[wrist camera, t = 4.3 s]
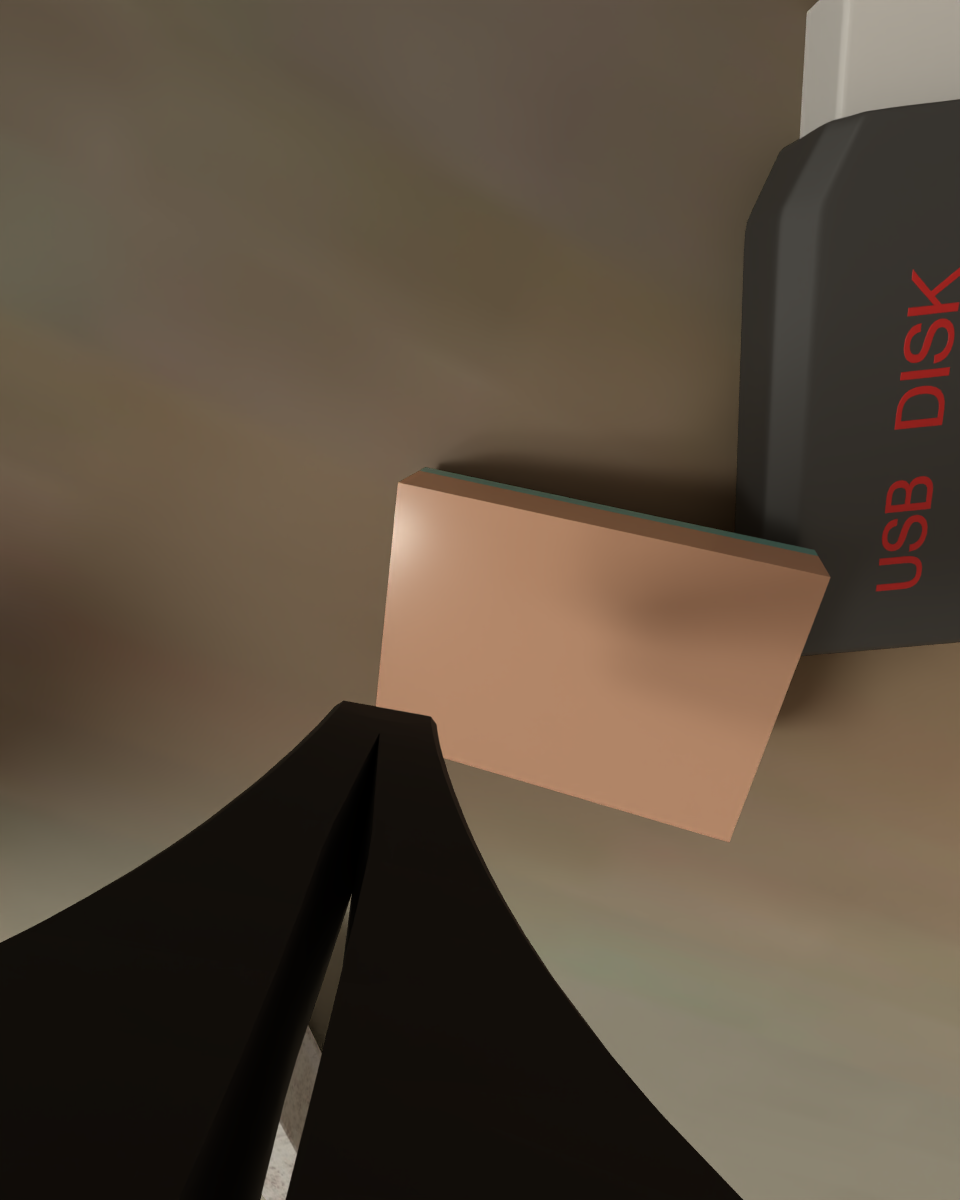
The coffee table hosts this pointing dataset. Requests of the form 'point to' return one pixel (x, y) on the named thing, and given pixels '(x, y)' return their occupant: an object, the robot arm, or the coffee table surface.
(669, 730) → the tile
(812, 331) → the usb drive
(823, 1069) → the coffee table surface
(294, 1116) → the wrench
